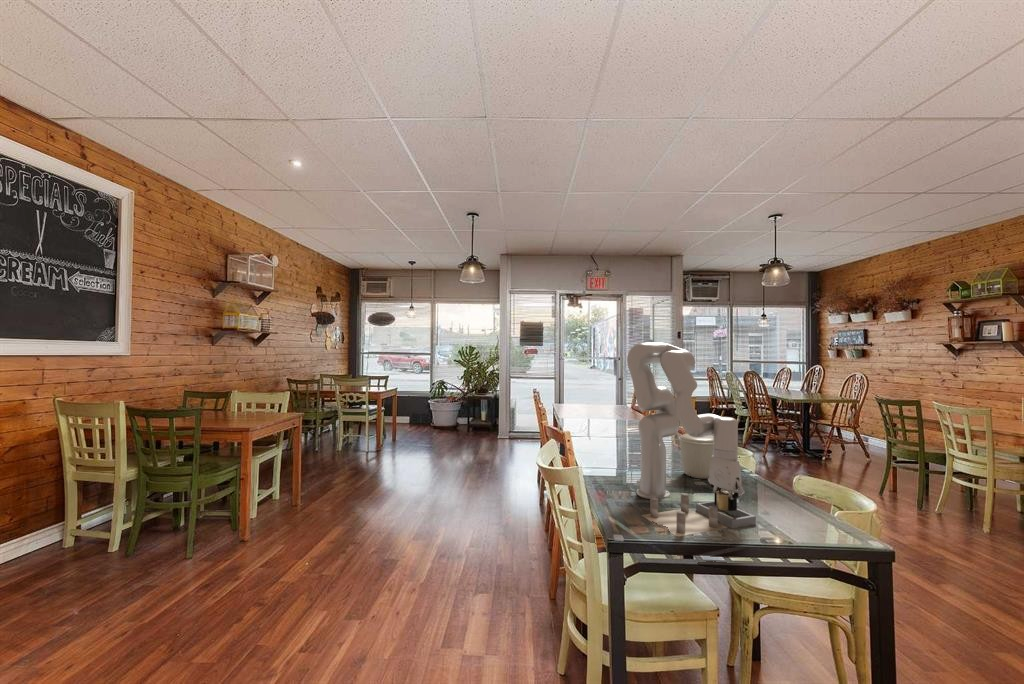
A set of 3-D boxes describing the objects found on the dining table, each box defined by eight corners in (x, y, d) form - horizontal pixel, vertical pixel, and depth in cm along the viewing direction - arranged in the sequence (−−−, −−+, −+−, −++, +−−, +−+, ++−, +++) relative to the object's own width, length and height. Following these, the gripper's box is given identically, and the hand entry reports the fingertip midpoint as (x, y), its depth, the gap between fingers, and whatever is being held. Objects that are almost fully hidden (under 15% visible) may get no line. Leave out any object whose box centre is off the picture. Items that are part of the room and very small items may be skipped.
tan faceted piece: (712, 506, 158) (712, 492, 158) (726, 504, 161) (726, 490, 161) (724, 512, 154) (724, 496, 154) (738, 509, 156) (738, 494, 156)
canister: (695, 483, 197) (695, 433, 196) (669, 471, 214) (670, 426, 214) (730, 479, 202) (731, 431, 201) (702, 468, 219) (703, 424, 219)
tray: (695, 513, 163) (696, 503, 163) (717, 509, 167) (718, 500, 167) (732, 531, 148) (732, 520, 148) (755, 526, 152) (755, 516, 152)
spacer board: (641, 518, 158) (641, 497, 158) (687, 510, 165) (687, 491, 165) (677, 539, 142) (677, 517, 141) (727, 530, 149) (727, 508, 149)
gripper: (698, 449, 164) (698, 500, 164) (737, 461, 148) (737, 517, 148) (714, 447, 166) (714, 498, 166) (755, 459, 150) (755, 514, 150)
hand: (725, 506), depth 157 cm, fingers closed on tan faceted piece, 5 cm apart
